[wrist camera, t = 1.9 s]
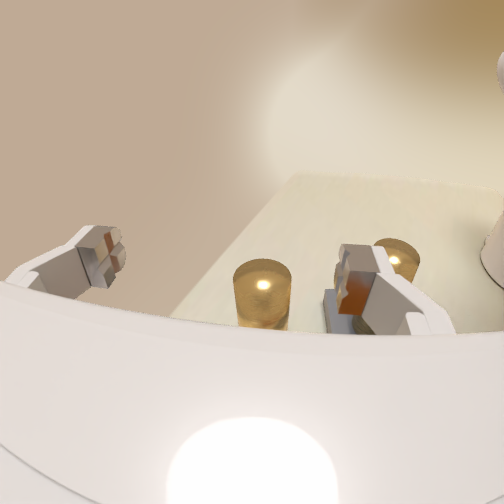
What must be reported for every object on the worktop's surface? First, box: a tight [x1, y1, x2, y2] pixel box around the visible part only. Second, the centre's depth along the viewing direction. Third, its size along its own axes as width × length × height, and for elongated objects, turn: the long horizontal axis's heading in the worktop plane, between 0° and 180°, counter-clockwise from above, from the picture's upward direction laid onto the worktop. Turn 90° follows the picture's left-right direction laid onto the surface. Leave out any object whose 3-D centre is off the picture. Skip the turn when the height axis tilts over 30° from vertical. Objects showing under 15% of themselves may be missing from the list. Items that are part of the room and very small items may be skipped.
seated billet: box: [352, 238, 420, 335], centre depth 29 cm, size 5×5×11 cm
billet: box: [233, 259, 291, 331], centre depth 29 cm, size 5×5×11 cm
